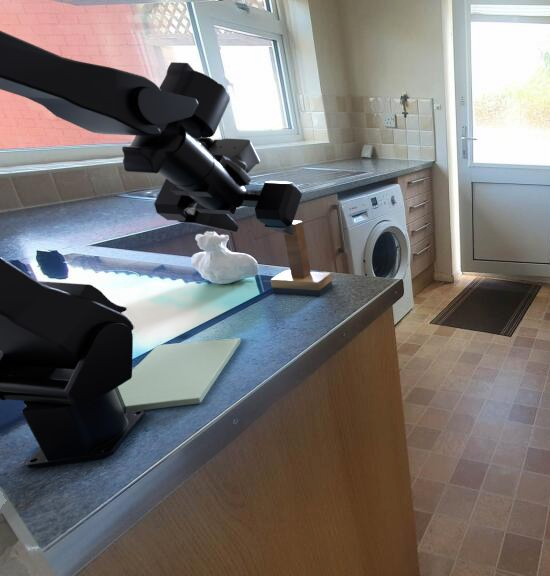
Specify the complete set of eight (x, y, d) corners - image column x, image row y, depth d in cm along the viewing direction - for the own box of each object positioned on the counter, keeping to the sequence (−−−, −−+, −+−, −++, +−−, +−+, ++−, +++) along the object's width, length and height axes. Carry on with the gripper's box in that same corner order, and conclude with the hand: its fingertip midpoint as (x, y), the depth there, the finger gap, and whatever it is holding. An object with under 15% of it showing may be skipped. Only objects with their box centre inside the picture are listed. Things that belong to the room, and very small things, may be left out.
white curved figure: (197, 290, 80) (157, 259, 70) (212, 258, 84) (175, 224, 74) (260, 292, 81) (228, 261, 71) (271, 260, 84) (242, 226, 75)
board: (200, 403, 47) (198, 397, 46) (93, 416, 44) (90, 410, 44) (240, 342, 59) (239, 337, 59) (159, 349, 57) (157, 344, 56)
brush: (320, 296, 75) (309, 227, 70) (272, 293, 75) (258, 224, 70) (333, 286, 79) (323, 220, 74) (288, 283, 80) (276, 217, 75)
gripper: (282, 120, 53) (333, 191, 68) (146, 114, 54) (225, 186, 69) (255, 191, 49) (316, 251, 63) (108, 183, 50) (201, 244, 64)
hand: (264, 231), depth 65 cm, fingers open, 9 cm apart
